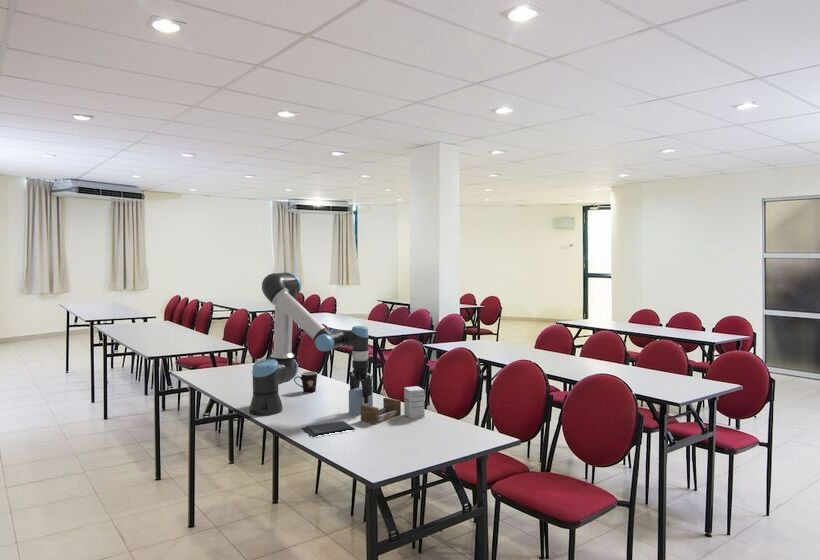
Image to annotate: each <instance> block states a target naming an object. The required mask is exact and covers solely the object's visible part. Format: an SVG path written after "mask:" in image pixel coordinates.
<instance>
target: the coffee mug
mask: <svg viewBox="0 0 820 560" xmlns="http://www.w3.org/2000/svg"><path fill="white" fill-rule="evenodd" d="M300 375H301V376H300ZM300 375H299V376H298V375H296V376H295V377H294V378H293V381H294V383H295V384H296V385H297V386H298V387H301V388H302V391H303V393H304V394H313V392H314V393H316V392H315V391H317V390H316V389H317V381H318V372H316V371H305V372H304V371H303V372H301V373H300ZM297 378H299V379H300V380H301V383H302V384H299V383H297V382H296V379H297Z"/></svg>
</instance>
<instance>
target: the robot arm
mask: <svg viewBox="0 0 820 560" xmlns="http://www.w3.org/2000/svg"><path fill="white" fill-rule="evenodd" d="M261 290H262V293H263V295H264V297H266V299H267V300H268V302H270V303H271V304H272V305H273V306H275V307H274V329H273V352H272V353H271V354H270V357H269V359H262V360H258V361H255V363H253V365H252V370H251V374H252V397H251V401H250V405H249V407H248V409H249V410H248V411H249V414H251V415H254V416H270V415H275V414H279V413H281V412H282V411H283V403H282V400H281V398H280V395H279V385H282V384H285V383H288V382H290V381H291V380H294V379H295V377H297V376H298V371H299V364H298V362H297V360H296V359H295V354H294V353H293V352H292V348H293V346H292V345H293V344H292V343H293V342H292V341H293V323H295V324H297V326H298V327H300V328H301V330H303V331H304V332H305V333H306V335H308V336H309V337H310V338H311V339H312V340H313V341H314V345H315V347H316V349H317V350H318V351H320V352H329V351H331V350H334V349H337V348H339V347H351V349H352V350H351V351H352V354H351V359H352V361H351V362H352V364H351V366H352V368H353V369H352V371H348V376H349V390H352V389H355V388H359V387H360V386H361V387H362V390H363V396H362V405H367V403H368V396H370V395H372V387H373V378H374V374H370V373H369V370H368V369H369V365H370V364H369V361H370V360H369V337H370V336H369V329H368V327H367V326H365V325H354V326H352V328H351V329H349V330H347V329H338V328H336V329H330V330H329V329H328V328H326V327H325V326H324V325H323V324H322V323H321V322H320V321H319V320H318V319H316V317H315V316H314V315H312V313H310V312H309V311H308V310H307V309H306V308H305V307H304V306H303V305H302V304H301V303H300V302H298V301H297V298H298V297H297V296H298V294H299V293H300V292H301V290H302V282H301V279H300V278H299V277H298V276H297V275H296V274H294V273H292V272H277V273H270V274H268V275H266V276H265V277H264V278H263V280H262V282H261ZM360 383H361V385H360Z"/></svg>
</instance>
